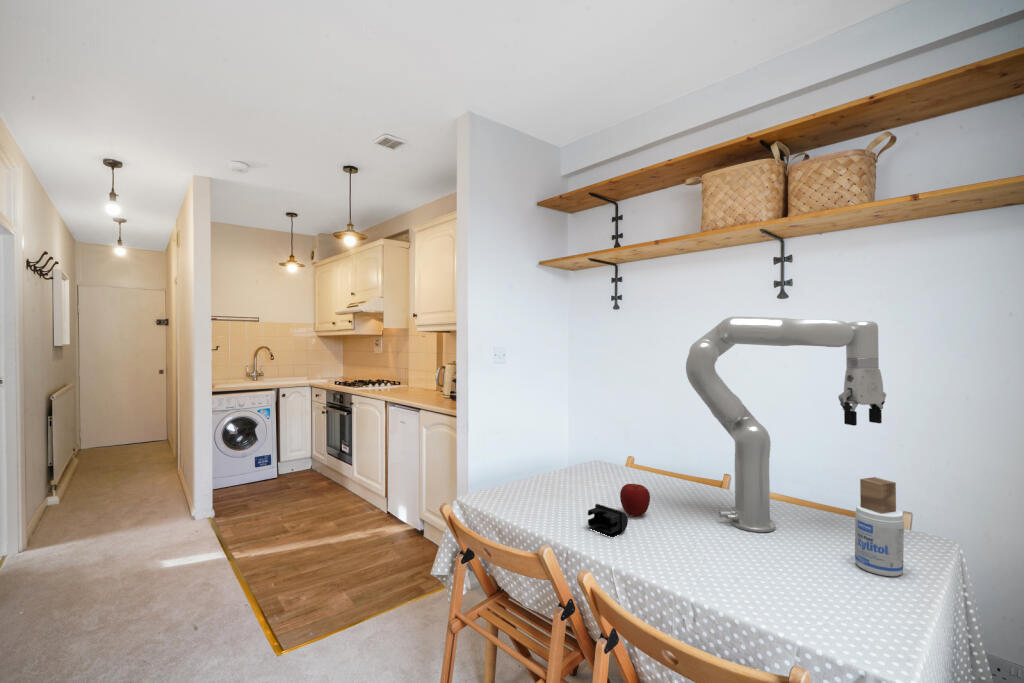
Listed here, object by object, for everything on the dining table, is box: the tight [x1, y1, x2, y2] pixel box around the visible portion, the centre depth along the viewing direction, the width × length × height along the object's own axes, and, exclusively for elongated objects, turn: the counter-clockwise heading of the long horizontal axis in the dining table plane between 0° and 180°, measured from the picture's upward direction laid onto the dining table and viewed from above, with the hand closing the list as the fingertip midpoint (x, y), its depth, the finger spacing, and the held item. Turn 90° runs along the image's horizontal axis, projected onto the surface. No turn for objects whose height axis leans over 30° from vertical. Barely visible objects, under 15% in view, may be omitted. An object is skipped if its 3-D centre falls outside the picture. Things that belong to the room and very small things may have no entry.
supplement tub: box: [854, 503, 905, 577], centre depth 118 cm, size 10×10×15 cm
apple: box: [619, 483, 651, 518], centre depth 156 cm, size 10×10×10 cm
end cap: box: [587, 503, 629, 538], centre depth 144 cm, size 10×7×7 cm
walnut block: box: [859, 476, 897, 514], centre depth 118 cm, size 5×5×7 cm
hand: (863, 423), depth 138 cm, fingers open, 9 cm apart
